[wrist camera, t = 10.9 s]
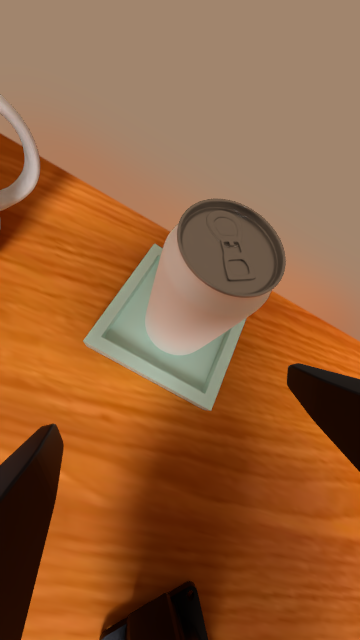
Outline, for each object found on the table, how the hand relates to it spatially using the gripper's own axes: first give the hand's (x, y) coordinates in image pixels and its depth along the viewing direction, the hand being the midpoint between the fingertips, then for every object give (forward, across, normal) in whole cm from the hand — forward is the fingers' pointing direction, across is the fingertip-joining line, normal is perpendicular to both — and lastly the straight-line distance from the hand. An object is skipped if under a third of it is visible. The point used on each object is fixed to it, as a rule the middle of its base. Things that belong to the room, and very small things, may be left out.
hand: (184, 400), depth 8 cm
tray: (+14, -2, +2) cm, 14 cm away
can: (+13, -2, +2) cm, 13 cm away
